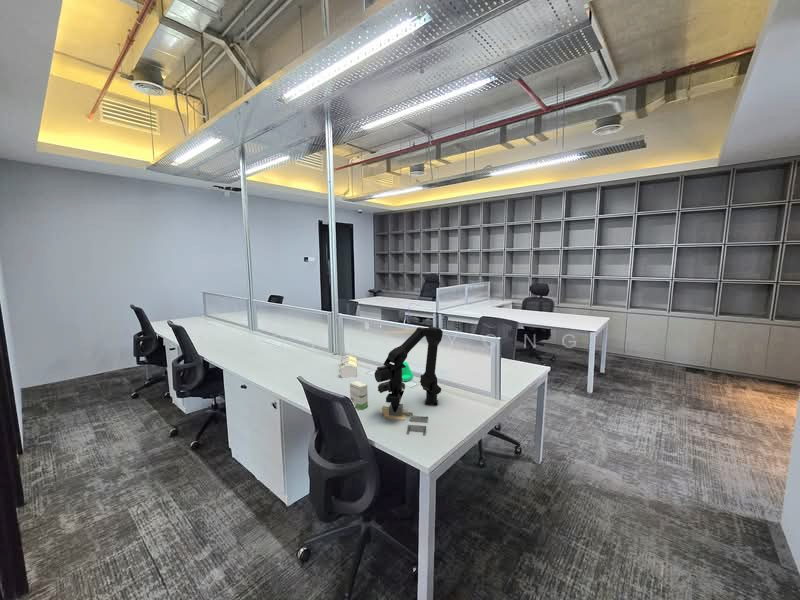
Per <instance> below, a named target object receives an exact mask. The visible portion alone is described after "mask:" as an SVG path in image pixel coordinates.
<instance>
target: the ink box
mask: <svg viewBox="0 0 800 600" xmlns="http://www.w3.org/2000/svg"><path fill="white" fill-rule="evenodd" d="M349 392H350V395H349V398H350V399H351V400H352V402H353V403H354V405H355V407H354V408H357V409H359V410H361V411H362V410H364V409H366V408H368V406H369V404H368V403H369V402H368V400H369V398H368V397H369V396H368V384H366V383H364V382H361V381H360V380H359V381H358V380H355V381H352V382H349ZM350 399H349V400H350Z"/></svg>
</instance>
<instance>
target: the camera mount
mask: <svg viewBox="0 0 800 600" xmlns="http://www.w3.org/2000/svg"><path fill="white" fill-rule="evenodd" d="M403 364H404V365H405V366H406V367H405V368H402V378H403V381H402V382H408V381H410V380H411V379H414V374H413V372H412V370H411V367H410V366H409V363H408V362H407V361H404V362H403Z"/></svg>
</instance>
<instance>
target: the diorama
mask: <svg viewBox="0 0 800 600" xmlns="http://www.w3.org/2000/svg"><path fill="white" fill-rule="evenodd" d="M357 363H358V362H357V356H356V355H353V354H346V355H344V353H342V356H341V359H340V367H339V369H340V371H339V372H340V377H341V378H342V379H349V378H351V379H353V378H356V377H357V376H358V365H357Z"/></svg>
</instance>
